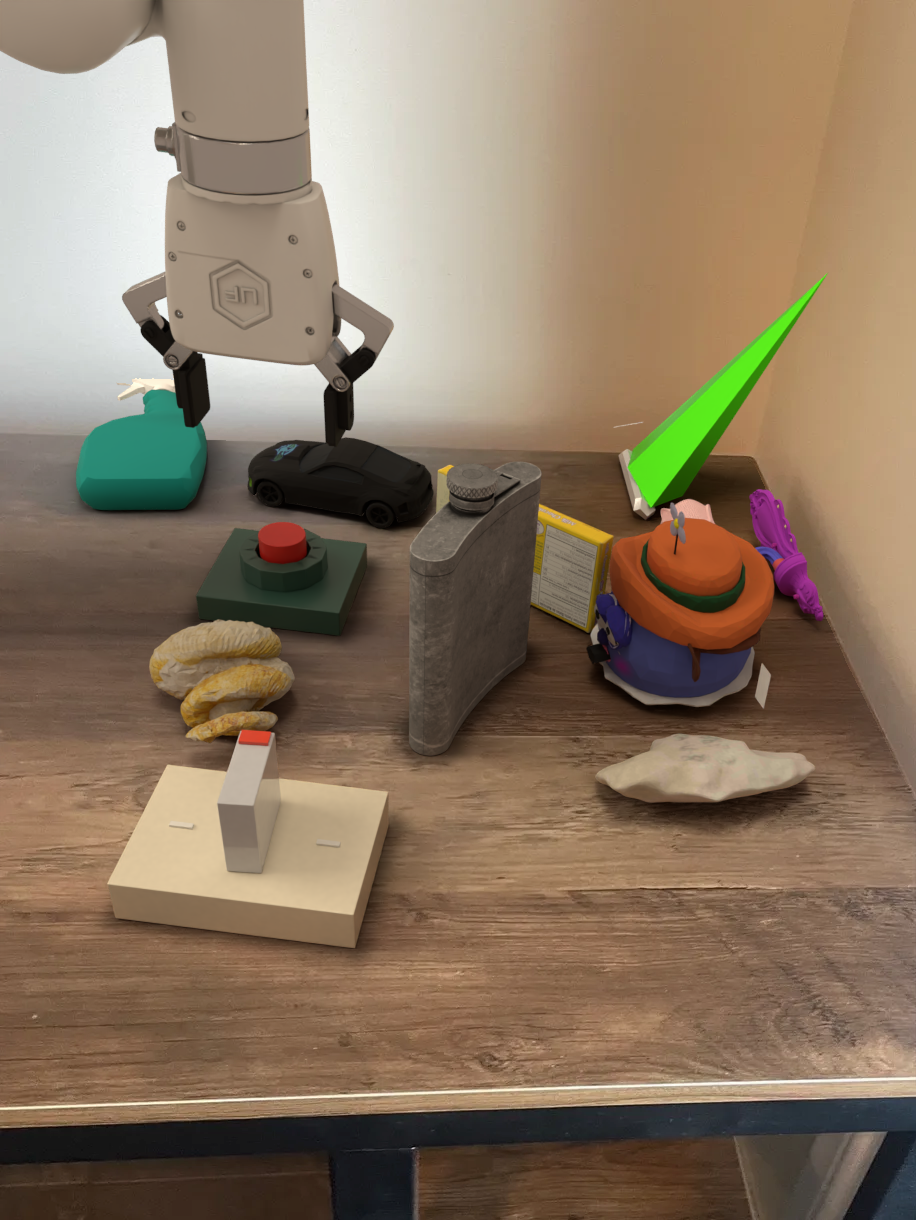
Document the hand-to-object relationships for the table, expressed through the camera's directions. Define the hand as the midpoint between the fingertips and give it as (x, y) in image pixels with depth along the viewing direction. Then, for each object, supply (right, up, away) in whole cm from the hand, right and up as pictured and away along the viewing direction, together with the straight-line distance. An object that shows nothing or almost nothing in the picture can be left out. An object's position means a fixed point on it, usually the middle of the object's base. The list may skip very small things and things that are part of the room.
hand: (267, 428), depth 79 cm
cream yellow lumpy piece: (-4, -19, +3) cm, 19 cm away
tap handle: (+2, -27, -10) cm, 29 cm away
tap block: (+1, -29, -8) cm, 30 cm away
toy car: (+1, 0, +25) cm, 25 cm away
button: (-1, -7, +11) cm, 13 cm away
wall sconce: (+38, -16, +11) cm, 42 cm away
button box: (-2, -10, +14) cm, 17 cm away
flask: (+13, -18, +6) cm, 23 cm away
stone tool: (+22, -24, -3) cm, 33 cm away
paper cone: (+44, +17, +19) cm, 51 cm away
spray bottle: (-16, -1, +20) cm, 25 cm away
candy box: (+17, -9, +17) cm, 25 cm away
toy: (+28, -15, +11) cm, 34 cm away
